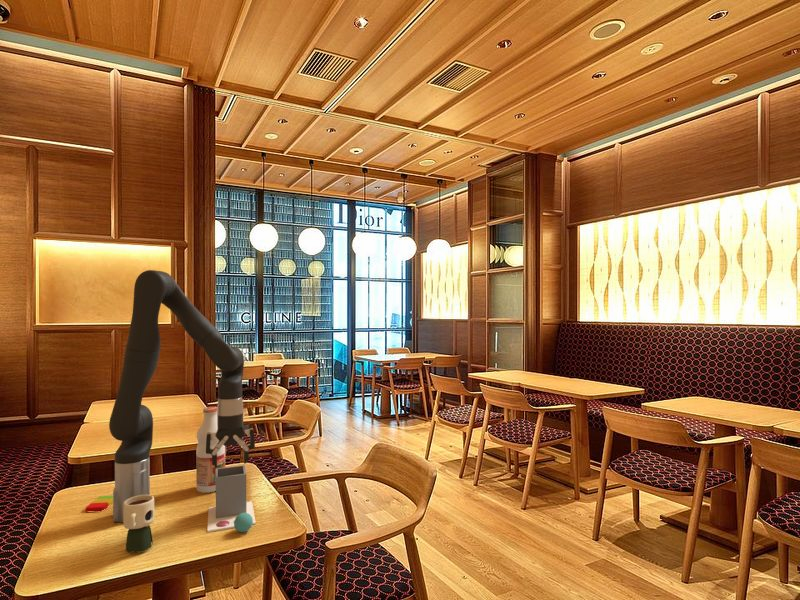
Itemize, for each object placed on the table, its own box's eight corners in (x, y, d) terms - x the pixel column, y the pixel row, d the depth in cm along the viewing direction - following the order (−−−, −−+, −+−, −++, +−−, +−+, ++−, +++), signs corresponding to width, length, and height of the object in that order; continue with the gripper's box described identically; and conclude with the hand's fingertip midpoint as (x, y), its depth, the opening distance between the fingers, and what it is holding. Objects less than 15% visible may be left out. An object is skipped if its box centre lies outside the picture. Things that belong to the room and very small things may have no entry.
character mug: (147, 558, 119) (147, 507, 119) (116, 562, 117) (116, 510, 117) (160, 537, 129) (159, 490, 130) (131, 540, 128) (131, 492, 128)
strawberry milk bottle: (201, 483, 168) (200, 405, 168) (228, 482, 169) (228, 404, 169) (192, 494, 159) (192, 411, 159) (221, 492, 160) (220, 410, 160)
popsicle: (83, 513, 145) (83, 507, 146) (107, 494, 160) (107, 489, 160) (102, 512, 146) (102, 506, 146) (124, 493, 161) (124, 488, 161)
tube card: (207, 532, 132) (207, 488, 132) (208, 509, 147) (208, 469, 147) (255, 524, 137) (255, 481, 137) (251, 502, 152) (251, 463, 152)
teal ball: (234, 536, 130) (234, 518, 130) (233, 528, 134) (233, 511, 134) (253, 533, 131) (253, 515, 131) (252, 525, 136) (252, 508, 136)
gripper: (205, 417, 139) (205, 471, 139) (255, 412, 144) (255, 465, 144) (205, 411, 146) (206, 463, 146) (253, 407, 151) (253, 457, 151)
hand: (230, 464), depth 145 cm, fingers open, 8 cm apart
